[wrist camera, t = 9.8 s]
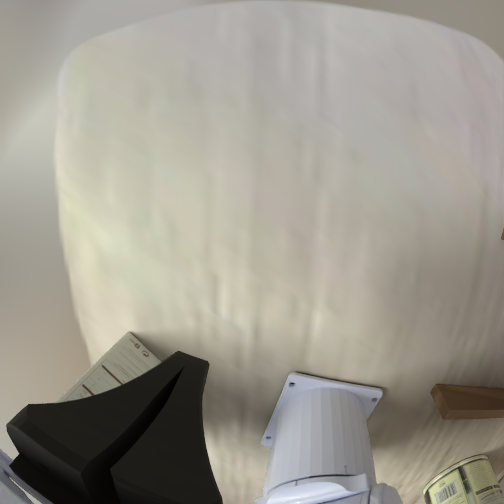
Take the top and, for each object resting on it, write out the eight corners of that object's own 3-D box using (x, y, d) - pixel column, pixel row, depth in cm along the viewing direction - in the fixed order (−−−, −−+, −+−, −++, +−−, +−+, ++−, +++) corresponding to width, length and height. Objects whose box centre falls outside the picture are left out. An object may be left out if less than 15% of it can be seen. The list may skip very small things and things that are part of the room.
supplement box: (152, 416, 25) (95, 508, 13) (97, 366, 25) (19, 445, 13) (195, 387, 23) (133, 505, 11) (130, 327, 23) (31, 422, 10)
